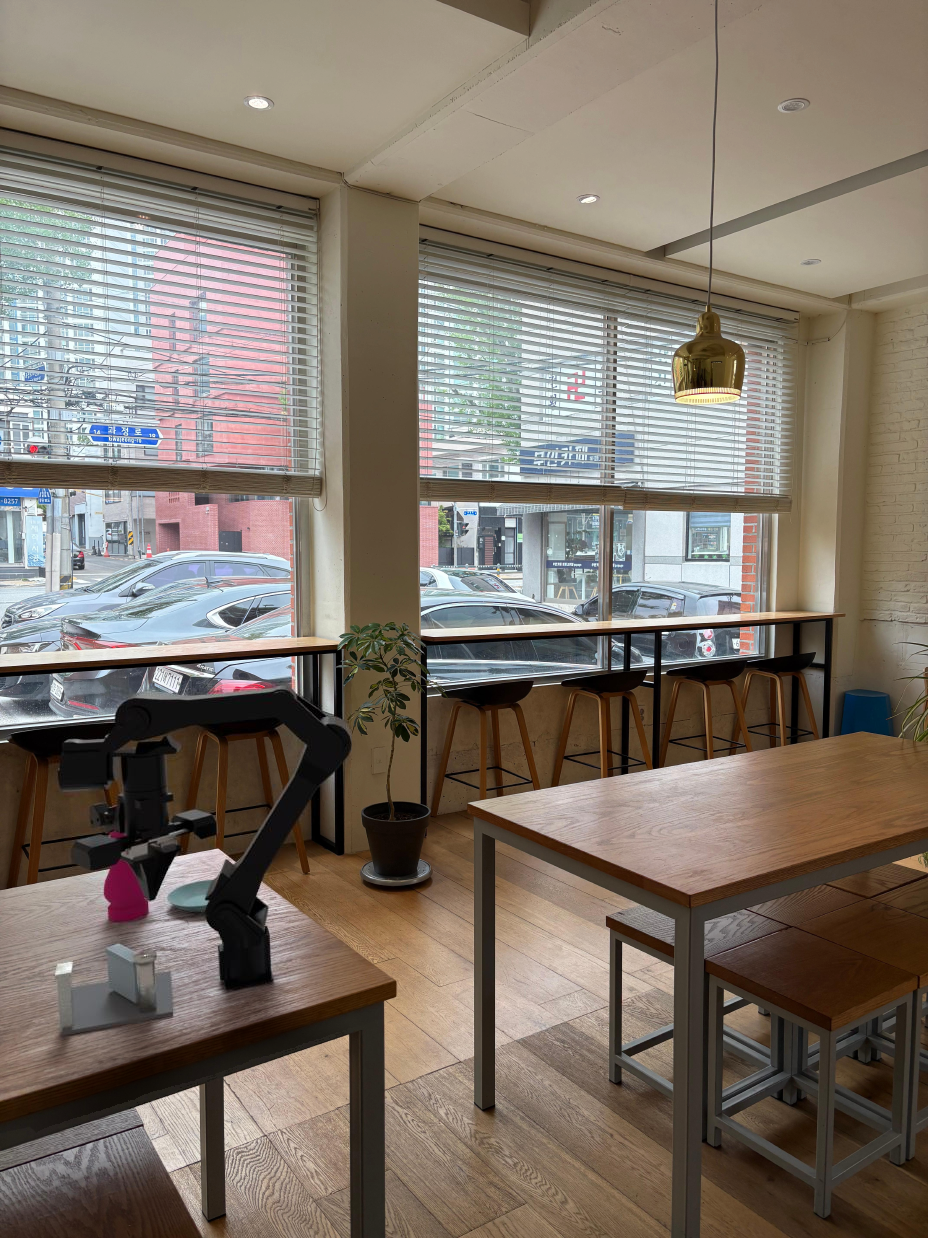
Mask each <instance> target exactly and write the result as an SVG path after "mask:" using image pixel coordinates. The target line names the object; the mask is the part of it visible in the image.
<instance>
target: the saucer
mask: <svg viewBox="0 0 928 1238" xmlns="http://www.w3.org/2000/svg"><path fill="white" fill-rule="evenodd" d="M212 880H213V879H205V880H198V881H194V882H190V883H186V884H183V885H181V886H179V887H176V888H175V889H173V890H172V891H170V892H169V893H168V895H167V901H168V903H169V904H170V905H172V906H174V907H176V908H177V909H180V910H181V911H184V912H189V913H205V909H206V906H207V903H208V901H206V900H205V897H206V894H207V892H208V889H209V886H210V884H211V881H212Z"/></svg>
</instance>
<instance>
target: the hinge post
mask: <svg viewBox="0 0 928 1238" xmlns="http://www.w3.org/2000/svg"><path fill="white" fill-rule="evenodd" d="M136 953H137V954H135V955H134V963H135V964H136V966H137V985H138V1005H139V1012H141V1013H149V1012H152V1011H154V1010H156V1008H157V998H156V978H155V973H156V965H155V963H156V961H157V960H158V955H157V954H158V952H157V951H156V950H151V949H147V950H142V951H139V952H136Z"/></svg>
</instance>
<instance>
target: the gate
mask: <svg viewBox="0 0 928 1238" xmlns="http://www.w3.org/2000/svg"><path fill="white" fill-rule="evenodd" d="M137 953H138V952H136V951H134V950H132V949H130V948H128V947H126V946H124V945H122V944H120V943H116V944H112V945H110V946H107V947H105V954H107V955H106V959H107V977H108V981H109V988H111V989H112V990H114V991H116V992H117V993H119V994H121V995H122V996H124V997H126V998H127V999H129V1000H131V1001H133V1002H134V1003H138V985H137V966H136V964H135V963H134V955H135V954H137Z"/></svg>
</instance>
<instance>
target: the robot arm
mask: <svg viewBox="0 0 928 1238" xmlns="http://www.w3.org/2000/svg"><path fill="white" fill-rule="evenodd" d="M273 718H275V719H277V720H278V721H280V722H281V723H282V724H283V725H285V727H286V728H287V729H289V731H291V732H292V734H293V735H295V737H297V738H298V739H299V740H300V741H301V742H303V743H304V746H303V749H302V752H301V755H300V757H299V760H298V763H297V766H296V767H295V770H294V772H293V774H292V775H291V777H290V778H289V781H287V784H286V785H285V787H284V789H282V791H281V793H280V794H279V797H278V799H277V800H276V801H275V803H274V805H273V806H272V807H271V810H270V811H269V813H268V815H267V816H266V818H265V819H264V821H263V823H262V824H261V825H260V828H259V829H258V830H257V833H256V834H255V836H254V837H253V839H252V840H251V842H250V844H249V845H248V847H247V848H246V850H245V852H244V854H242V856H241V857H240V858H239V859H238V860H237V861H235V862H234V863H232V862H231V861H230V860H229V859H227V858H225V860H224V862H223V864H222V867H221V869H220V871H219V873H218V875H217V876H216V877H215V878H213V879H211V880H212V881H211V884H210V886H209V889H208V892H207V894H206V897H205V900H206V901H208V903H207V906H206V909H205V912H204V916H205V919H206V923H207V924H208V926H209V927H210V928H211V929H212V930H213V931H214V932H217V933H218V936H219V937H220V941H221V943H219V944H218V945H217V961H218V962H217V963H218V975H219V981H221V982H223V986H224V987H223V988H224V990H225V991H233V990H238V989H243V988H249V987H254V986H260V985H265V984H266V985H267V984H271V983H273V982H275V980H274V979H275V978H274V975H273V971H272V959H271V958H272V953H271V934H270V931H269V928H268V925H267V924H266V923H267V921H268V920H267V918H268V915H269V908H270V907H269V905H267V904H266V903H265V902H264V901H263V900H261V899H260V898H259V897H258V893H259V890H260V887H261V885H262V881H263V880H264V877H265V874H266V872H267V871H268V869H269V868H270V866H271V865H272V863H273V861H274V859H275V858H276V856H277V855H278V854H279V851H280V850H281V848H282V846H283V845H284V844H285V842H286V840H287V839H288V837H289V835H290V834H291V832H292V830H293V828H294V827H295V826H296V824H297V823H298V821H299V819H300V817H301V816H302V814H303V813H304V810H306V807H307V806H308V804H309V802H310V801H311V799H312V798H313V796H314V794H315V793H316V791H317V790H318V789H319V788H320V787H321V785H323V784H324V783H325V782H326V781H327V780H329V778H330V777H331V776H333V775H334V773H335V772H336V771H337V770H338V768H340V766H341V765H342V764H343V763H344V762H345V761H346V759H347V758H348V757H349V756H350V753H351V750H352V747H353V743H352V734H351V731H350V727H349V724H347V722H346V721H344V720H343V719H342V718H340V717H337V716H334V715H333V716H331V715H327V714H326V713H324V712H323V711H322V710H320V709H319V708H318V707H316V706H315V705H314V704H312V703H311V702H309V701H307V700H306V699H305V698H304V697H302V696H300V695H299V694H298V693H296V691H295V690H294V689H293V688H292V687H290V686H288V685H278V686H275V687H270V688H269V687H268V688H261V689H250V690H239V691H229V692H220V693H219V692H218V693H217V692H216V693H211V694H210V693H208V694H199V695H185V694H177V693H172V692H160V691H146V690H145V691H140V692H136V693H135V694H133V695H131V696H130V697H129V698H126V699H125V700H124V701H123V702H121V704H120V705H119V706H118V707H117V709H116V712H115V714H114V724H115V725H114V726H113V727H112V728H111V730H110V732H109V733H108V734H106V735H105V736H104V738H103V739H102V738H100V739H99V738H97V739H80V738H79V739H78V738H70V739H67V740H65V741H63V743H62V746H61V747H62V752H61V755H60V759H59V768H58V769H57V780H58V786H59V788H60V790H61V791H62V792H63V793H65V792H67V793H68V792H81V791H98V790H99V791H101V790H109V789H110V787H111V785H112V782H118V780H119V777H120V772H121V786H122V787H121V789H122V793H120V794H119V793H118V794H117V797H116V805H117V806H115V805H114V807H113V806H109V804H108V802H106V801H105V802H100V803H95V804H92V805H90V806H89V822H90V827H91V828H92V829H93V830H97V829H100V828H103V829H104V831H105V832H104V833H105V834H110V832H113V831H114V830H115V832H116V833H118V834H121V833H124V834H125V836H124V837H120V838H117V839H111V838H109V837H108V836H105V835H103V834H96V835H93V836H88V837H85V838H82V839H79V840H75V841H74V843H73V845H72V846H71V849H70V862H71V863H72V864H75V865H77V866H79V867H81V868H83V869H85V870H88V871H99V870H102V869H105V868H110V866H113V865H116V864H117V863H118V861H119V860H123V861H125V862H127V863H128V864H129V866H130V867H131V869H132V871H133V872H134V874H135V876H136V879H137V881H138V883H139V885H140V887H141V890H142V892H143V894H144V896H145V899H146V900H148V902H152V901H155V900H156V899H157V897H158V893H159V892H160V889H161V886H162V884H163V882H164V880H165V877H166V875H167V874H168V871H169V869H170V867H171V866H172V864H173V861H174V860H175V858H176V856H177V854H178V853H180V852H182V851H183V846H182V845H179V844H177V837H180V836H181V837H182V836H184V835H186V834H191V833H193V836H195V837H196V838H197V839H199V840H204V839H207V838H210V837H214V836H217V835H218V834H219V823H218V820H217V819H216V818H217V817H215V816H214V815H213V814H212V813H209V812H205V811H202V810H198V809H195V808H194V809H191V810H187V811H184V812H179V813H176V814H174V815H173V816H172V818H171V820H170V815H169V813H170V811H169V803H171V802H174V793H173V792H172V793H171V792H170V791H169V790H168V770H167V769H168V767H167V755H176V754H177V753H178V752H179V750H180V749H181V747H182V744H181V743H180V742H178V741H177V740H175V739H174V738H172V736H171V734H170V733H172V732H175V731H178V730H181V729H184V728H188V727H195V726H202V725H203V726H205V725H213V724H224V723H232V722H233V723H234V722H242V721H251V720H252V721H253V720H262V719H273ZM161 736H163V737H162V738H161V739H159V740H158V739H156V740H151V739H152V738H157V737H161ZM149 739H150V740H149ZM130 742H137V743H136V746H134V747H124V746H125V745H127V744H128V743H130ZM120 768H121V771H120ZM140 839H141V840H140ZM135 840H138V841H135Z"/></svg>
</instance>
